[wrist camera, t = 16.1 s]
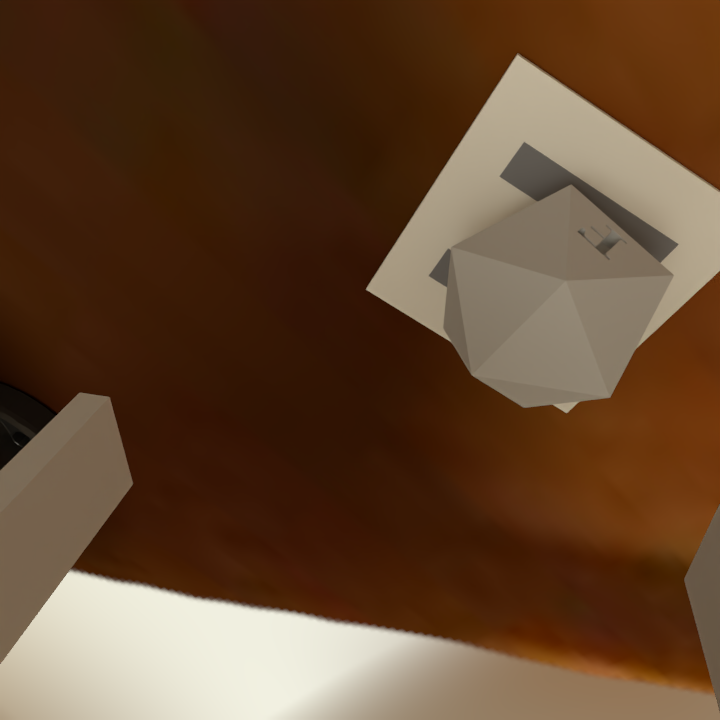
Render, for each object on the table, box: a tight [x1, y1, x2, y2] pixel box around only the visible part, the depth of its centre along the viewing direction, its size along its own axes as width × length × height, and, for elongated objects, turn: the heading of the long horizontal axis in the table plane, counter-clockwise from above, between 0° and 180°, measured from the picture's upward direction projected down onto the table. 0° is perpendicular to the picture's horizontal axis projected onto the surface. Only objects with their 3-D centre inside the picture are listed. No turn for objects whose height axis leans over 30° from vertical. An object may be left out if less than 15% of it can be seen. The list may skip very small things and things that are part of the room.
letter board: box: [366, 53, 720, 413], centre depth 29 cm, size 13×13×1 cm
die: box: [443, 184, 674, 408], centre depth 26 cm, size 8×9×10 cm
